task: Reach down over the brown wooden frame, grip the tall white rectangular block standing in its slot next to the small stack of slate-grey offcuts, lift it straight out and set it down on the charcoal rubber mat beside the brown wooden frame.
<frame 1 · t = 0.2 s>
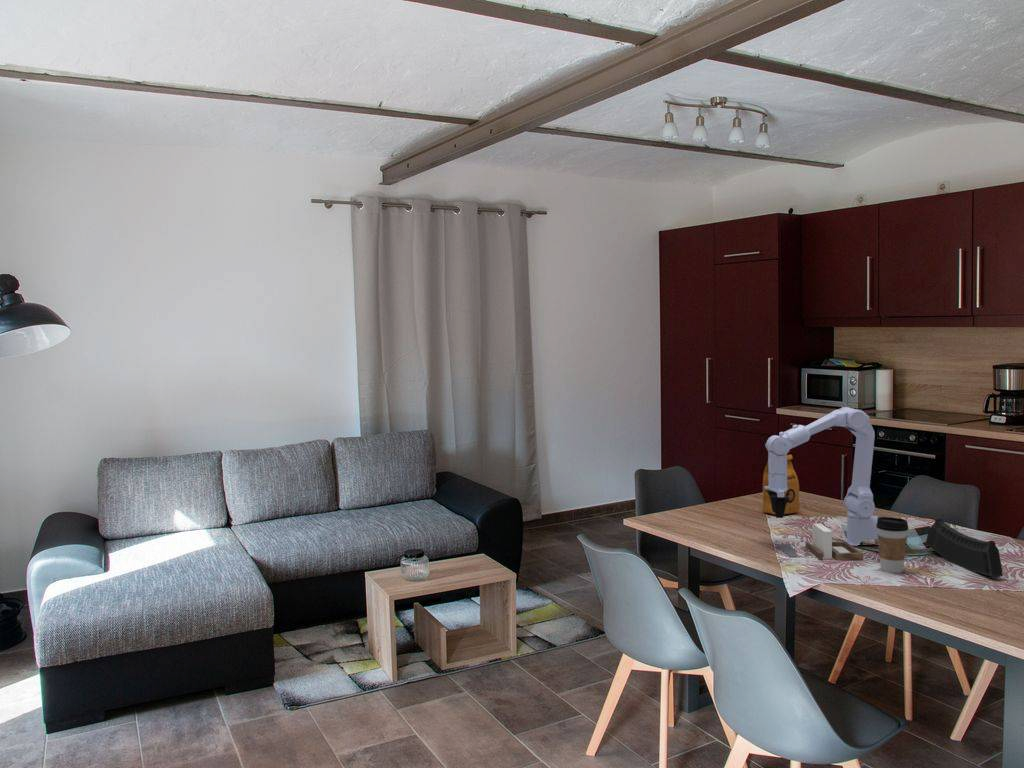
hand: (777, 514, 264), 10 cm above the table, tool pointing down, fingers open, 7 cm apart
white rectangular block: (822, 554, 254), on the table
magazine: (961, 565, 240), on the table
brown wooden frame: (822, 554, 254), on the table
coffee cup: (891, 570, 237), on the table
offcut upper: (841, 552, 254), resting on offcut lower
mat: (793, 551, 258), on the table
coffee package: (781, 513, 309), on the table
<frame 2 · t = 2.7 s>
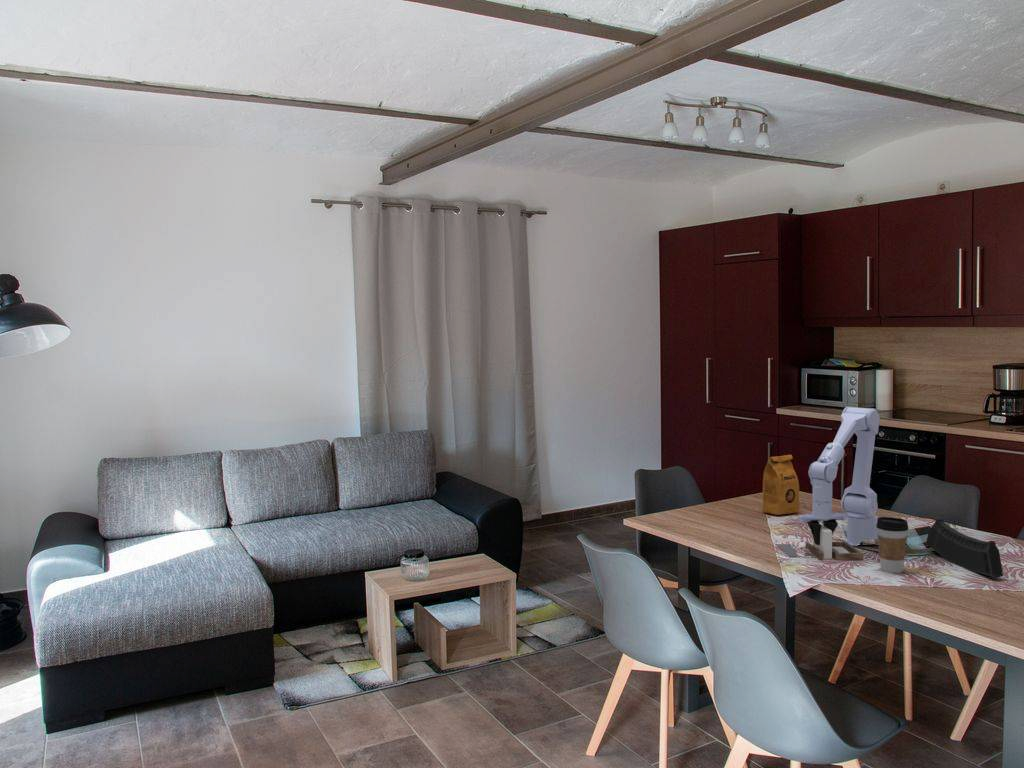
hand: (822, 544, 254), 3 cm above the table, tool pointing down, fingers closed on white rectangular block, 3 cm apart
white rectangular block: (822, 554, 254), on the table, touching gripper
everything else where it was.
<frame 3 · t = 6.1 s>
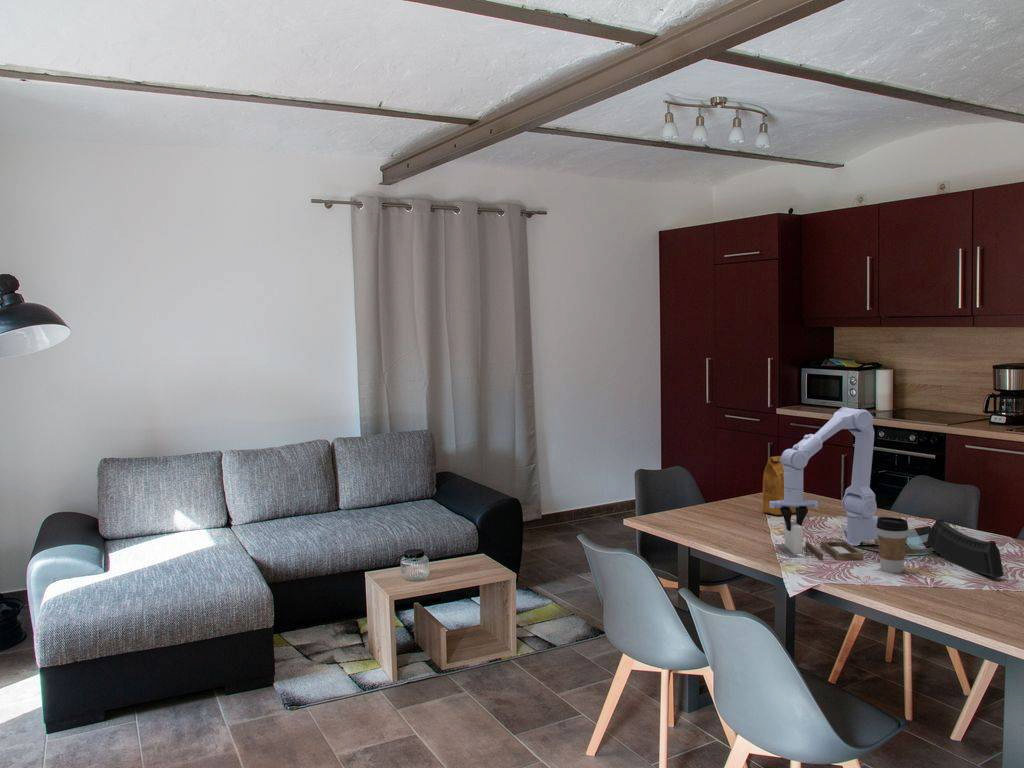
hand: (793, 530, 258), 7 cm above the table, tool pointing down, fingers closed on white rectangular block, 2 cm apart
white rectangular block: (793, 550, 258), resting on mat, touching gripper
everything else where it was.
when the fingers open (5 cm above the table, at t = 6.8 s): white rectangular block stays where it is, resting on mat.
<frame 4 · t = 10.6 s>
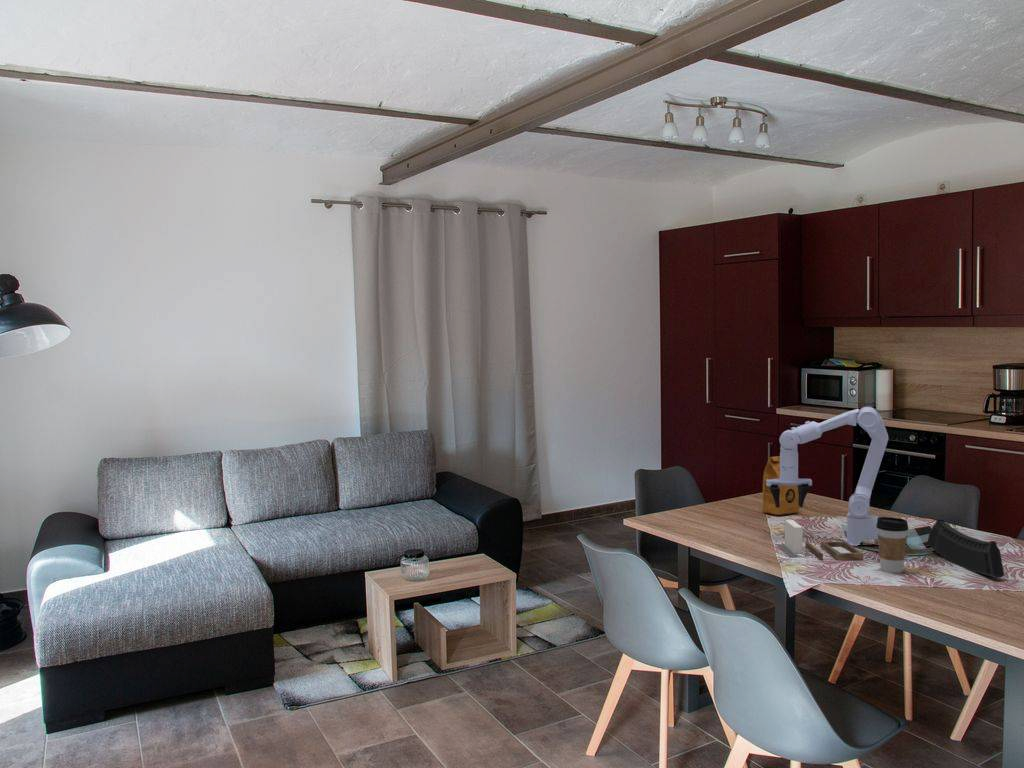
hand: (788, 506, 273), 10 cm above the table, tool pointing down, fingers open, 7 cm apart
white rectangular block: (793, 550, 258), resting on mat
everything else where it was.
at the end: white rectangular block inside the target area (0.2 cm from its centre), resting on mat; white rectangular block touching mat; the gripper is holding nothing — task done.
